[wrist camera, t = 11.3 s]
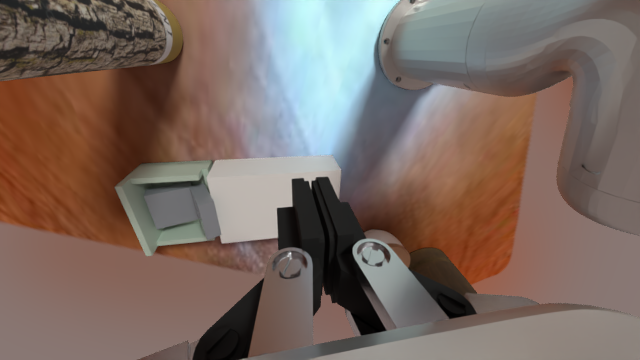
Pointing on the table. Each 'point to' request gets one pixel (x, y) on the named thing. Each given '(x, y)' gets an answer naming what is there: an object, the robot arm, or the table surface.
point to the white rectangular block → (261, 191)
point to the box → (139, 212)
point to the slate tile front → (205, 211)
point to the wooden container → (439, 269)
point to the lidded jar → (390, 243)
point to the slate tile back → (171, 204)
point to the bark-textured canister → (84, 36)
